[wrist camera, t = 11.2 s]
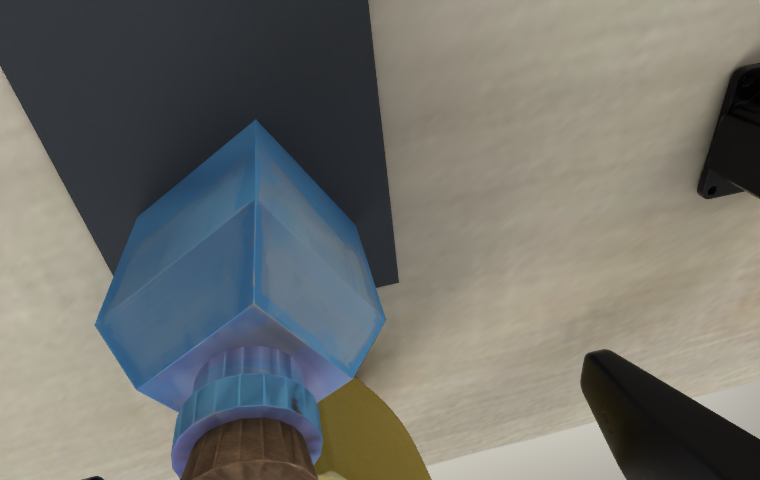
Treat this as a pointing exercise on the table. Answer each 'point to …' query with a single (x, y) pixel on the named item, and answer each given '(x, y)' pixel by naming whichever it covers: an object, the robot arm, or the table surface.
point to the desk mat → (200, 100)
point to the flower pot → (364, 439)
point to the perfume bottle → (243, 311)
